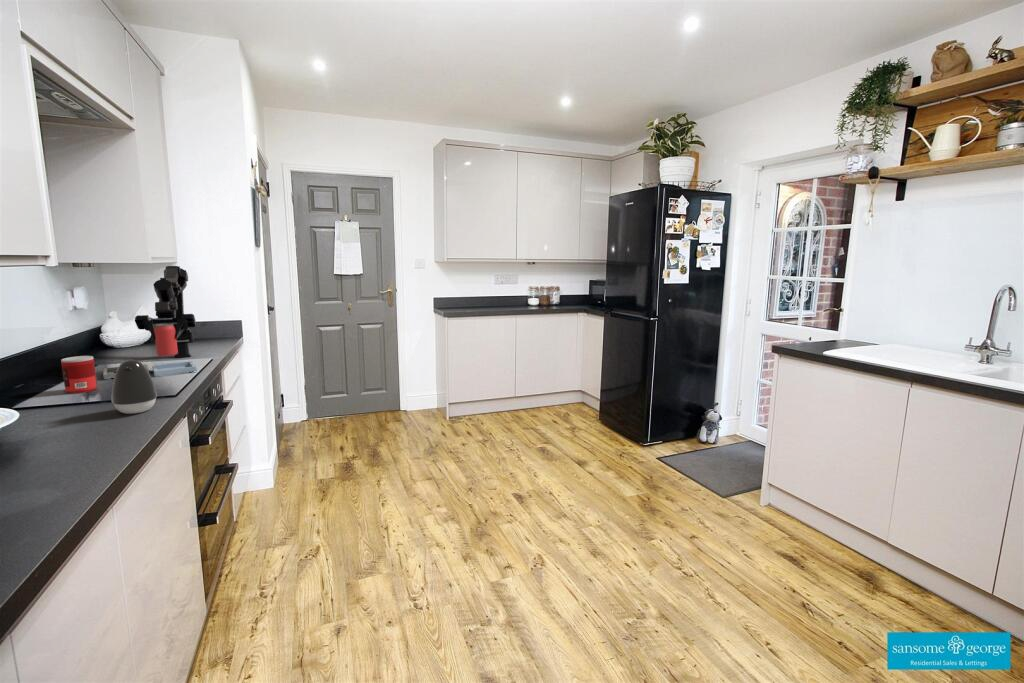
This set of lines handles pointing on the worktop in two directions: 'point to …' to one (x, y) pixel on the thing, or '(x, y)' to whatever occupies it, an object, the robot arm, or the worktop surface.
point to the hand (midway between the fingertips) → (165, 338)
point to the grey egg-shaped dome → (133, 388)
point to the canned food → (79, 374)
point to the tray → (173, 368)
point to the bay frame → (114, 369)
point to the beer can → (165, 340)
